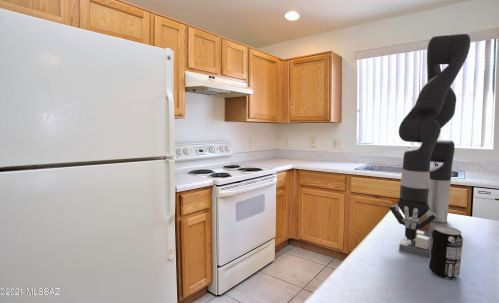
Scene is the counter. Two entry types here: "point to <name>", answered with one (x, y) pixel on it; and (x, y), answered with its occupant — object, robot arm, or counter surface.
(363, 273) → the counter surface
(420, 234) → the tab
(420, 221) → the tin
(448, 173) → the robot arm
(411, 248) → the switch panel
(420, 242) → the tab
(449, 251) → the beverage can
